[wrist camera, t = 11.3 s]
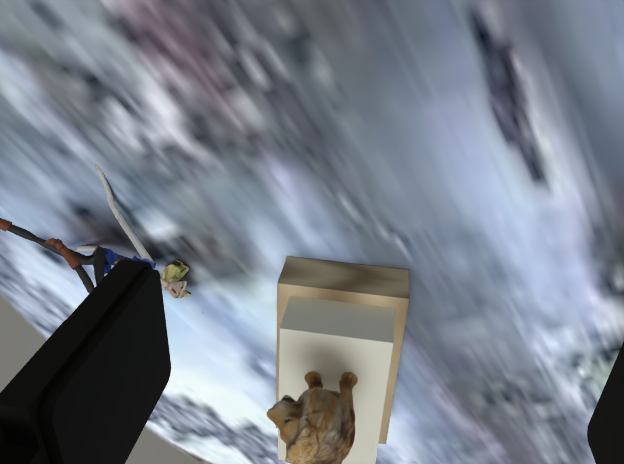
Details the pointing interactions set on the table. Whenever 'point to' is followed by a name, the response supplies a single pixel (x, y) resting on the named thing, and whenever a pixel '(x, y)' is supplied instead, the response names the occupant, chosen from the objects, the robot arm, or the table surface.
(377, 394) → the cream brick
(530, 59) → the table surface
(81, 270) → the figurine
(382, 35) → the table surface
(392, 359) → the oak base brick
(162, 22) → the table surface
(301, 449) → the lion figurine
